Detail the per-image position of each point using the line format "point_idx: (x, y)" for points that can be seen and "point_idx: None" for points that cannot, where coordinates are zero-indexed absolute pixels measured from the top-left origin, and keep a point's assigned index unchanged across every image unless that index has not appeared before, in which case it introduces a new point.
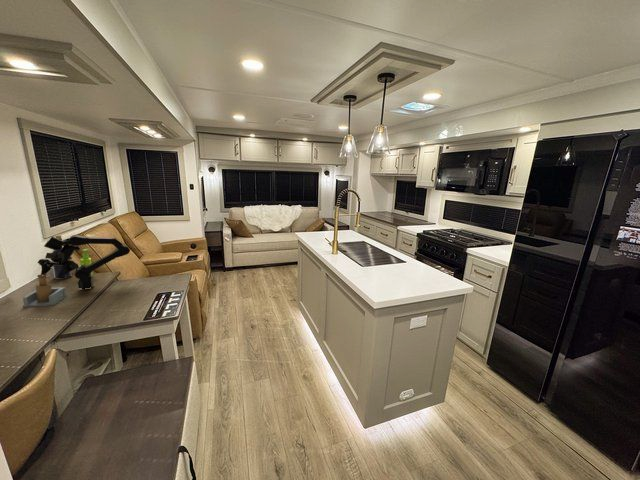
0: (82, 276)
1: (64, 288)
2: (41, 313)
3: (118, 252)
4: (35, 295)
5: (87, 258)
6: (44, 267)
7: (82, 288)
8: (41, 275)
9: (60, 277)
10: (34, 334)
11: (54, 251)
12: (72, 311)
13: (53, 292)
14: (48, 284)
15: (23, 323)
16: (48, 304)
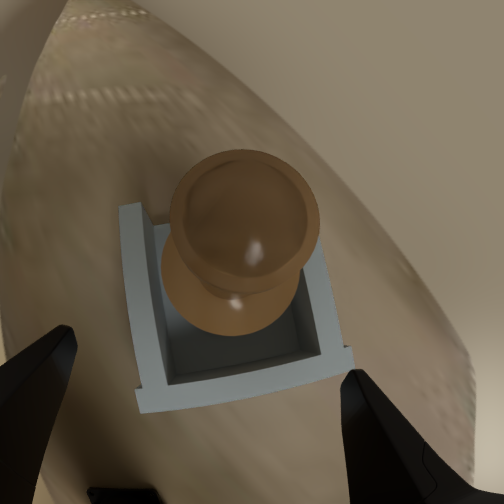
0: None
1: (136, 395)
2: (138, 134)
3: None
4: (298, 293)
5: None
6: (426, 502)
7: (132, 497)
8: (231, 180)
9: None
10: (89, 30)
11: None
12: (23, 161)
13: (219, 372)
14: (190, 290)
15: (157, 65)
16: (159, 225)
